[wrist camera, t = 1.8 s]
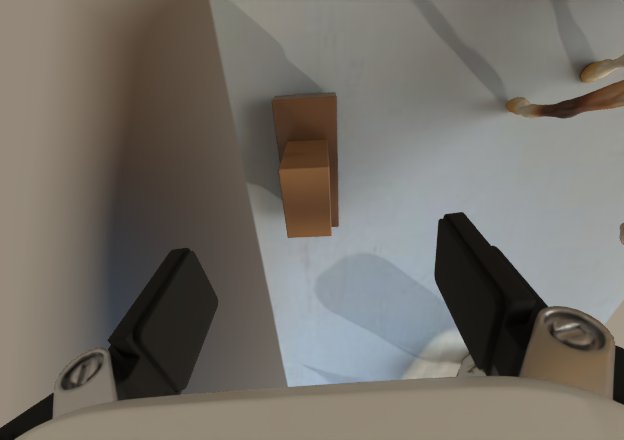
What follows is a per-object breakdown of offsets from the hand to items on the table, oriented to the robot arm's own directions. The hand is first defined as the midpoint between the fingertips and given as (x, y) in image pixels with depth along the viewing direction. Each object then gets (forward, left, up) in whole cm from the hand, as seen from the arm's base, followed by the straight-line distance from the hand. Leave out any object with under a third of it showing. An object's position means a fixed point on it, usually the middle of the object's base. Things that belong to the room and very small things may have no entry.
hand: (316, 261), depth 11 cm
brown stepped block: (-2, -2, -20) cm, 21 cm away
